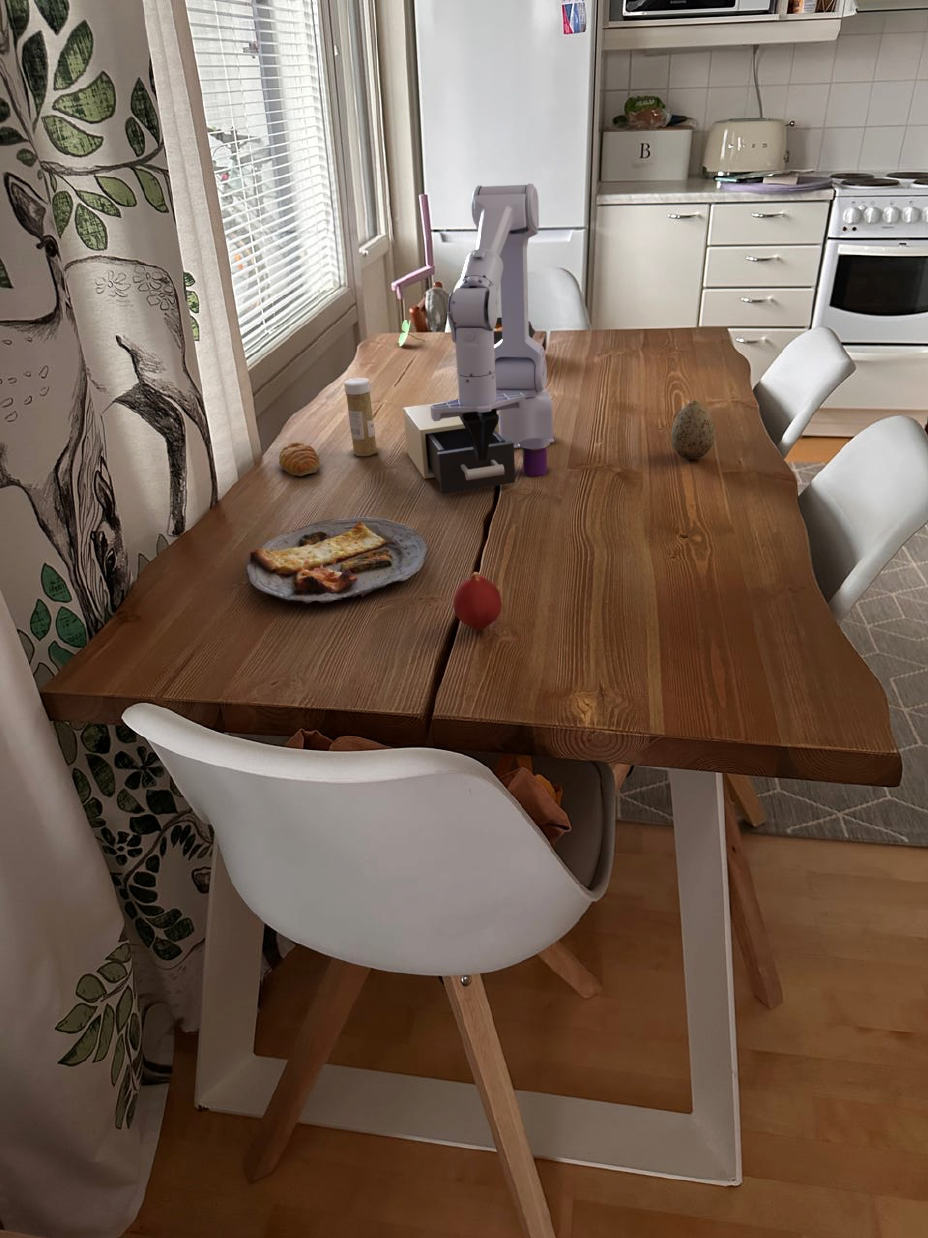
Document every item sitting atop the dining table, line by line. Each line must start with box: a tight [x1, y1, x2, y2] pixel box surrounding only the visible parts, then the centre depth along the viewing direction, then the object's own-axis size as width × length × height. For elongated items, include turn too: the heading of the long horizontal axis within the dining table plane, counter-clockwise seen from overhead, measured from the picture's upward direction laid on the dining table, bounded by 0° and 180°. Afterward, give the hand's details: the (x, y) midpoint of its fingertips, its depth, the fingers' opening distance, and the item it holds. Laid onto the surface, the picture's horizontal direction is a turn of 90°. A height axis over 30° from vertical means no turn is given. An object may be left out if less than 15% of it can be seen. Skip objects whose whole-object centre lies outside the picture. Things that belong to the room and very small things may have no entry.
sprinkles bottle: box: [343, 377, 378, 457], centre depth 168 cm, size 5×5×14 cm
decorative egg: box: [670, 400, 716, 460], centre depth 156 cm, size 7×7×10 cm
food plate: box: [245, 516, 428, 606], centre depth 129 cm, size 25×23×4 cm
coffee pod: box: [519, 438, 551, 477], centre depth 156 cm, size 5×5×5 cm
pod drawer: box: [425, 428, 516, 495], centre depth 152 cm, size 17×12×7 cm
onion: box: [452, 571, 503, 632], centre depth 111 cm, size 6×6×8 cm
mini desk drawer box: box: [402, 401, 500, 479], centre depth 163 cm, size 14×14×9 cm
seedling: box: [398, 319, 426, 347], centre depth 241 cm, size 7×8×6 cm
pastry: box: [278, 442, 320, 477], centre depth 164 cm, size 9×7×4 cm
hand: (481, 458), depth 145 cm, fingers closed
